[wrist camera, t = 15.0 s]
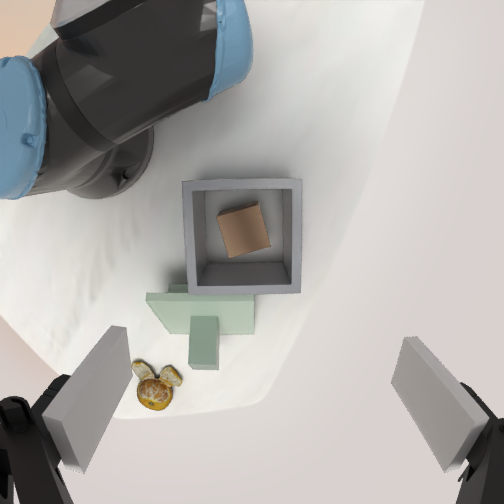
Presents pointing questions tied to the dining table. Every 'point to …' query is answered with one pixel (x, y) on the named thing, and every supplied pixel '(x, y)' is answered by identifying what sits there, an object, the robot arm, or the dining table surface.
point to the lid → (203, 320)
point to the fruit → (155, 386)
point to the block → (243, 229)
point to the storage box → (242, 274)
